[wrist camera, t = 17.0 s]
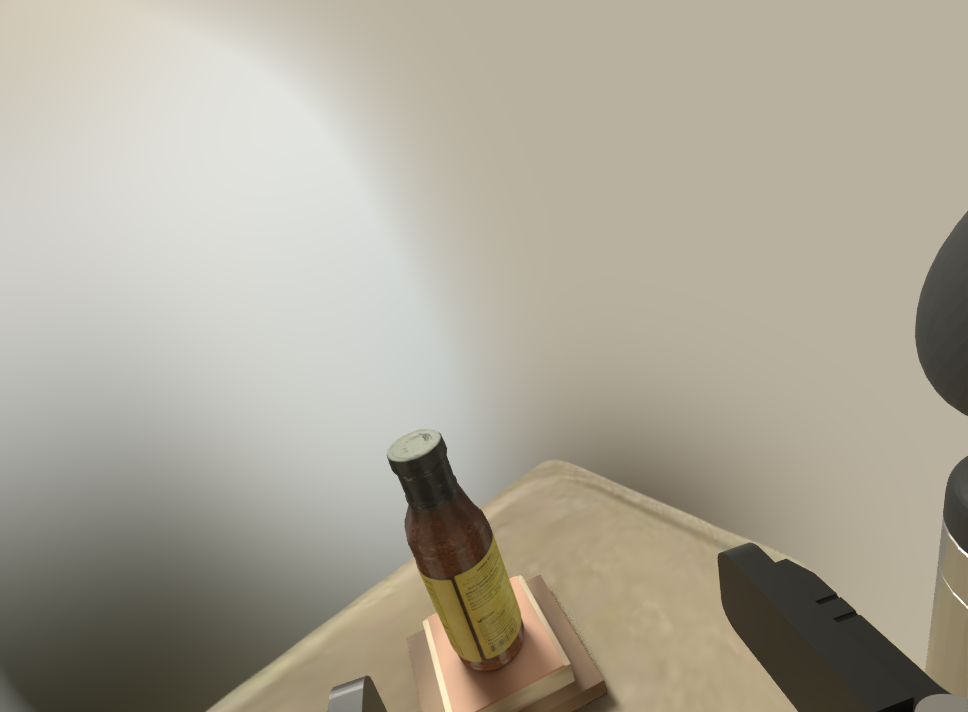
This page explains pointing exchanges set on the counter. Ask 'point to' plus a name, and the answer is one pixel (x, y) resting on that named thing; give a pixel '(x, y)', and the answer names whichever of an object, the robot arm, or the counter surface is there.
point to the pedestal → (509, 664)
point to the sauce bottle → (456, 555)
